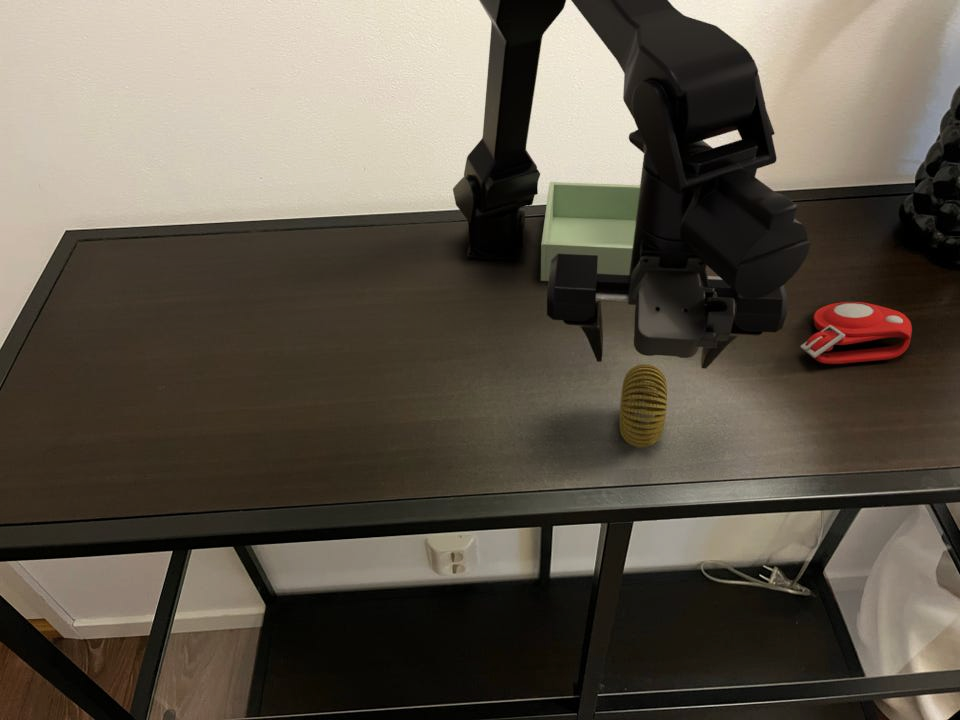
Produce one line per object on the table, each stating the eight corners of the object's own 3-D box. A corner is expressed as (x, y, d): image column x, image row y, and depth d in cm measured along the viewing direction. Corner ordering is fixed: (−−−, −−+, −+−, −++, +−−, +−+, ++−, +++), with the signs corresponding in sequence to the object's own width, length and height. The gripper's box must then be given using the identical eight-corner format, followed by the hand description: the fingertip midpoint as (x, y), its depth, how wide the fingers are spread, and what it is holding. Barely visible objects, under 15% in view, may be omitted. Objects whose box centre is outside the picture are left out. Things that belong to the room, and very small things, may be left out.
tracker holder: (816, 290, 86) (916, 296, 81) (814, 325, 88) (911, 332, 83) (798, 337, 77) (909, 346, 72) (796, 374, 79) (904, 386, 74)
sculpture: (619, 399, 77) (626, 345, 71) (659, 403, 77) (669, 348, 71) (616, 462, 72) (623, 408, 66) (658, 466, 71) (670, 412, 65)
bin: (540, 281, 91) (541, 244, 87) (548, 217, 100) (549, 181, 96) (650, 286, 89) (656, 249, 85) (648, 221, 98) (653, 185, 94)
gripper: (542, 280, 52) (540, 423, 63) (824, 295, 49) (769, 440, 61) (553, 191, 59) (549, 332, 71) (797, 199, 57) (754, 344, 68)
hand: (650, 361), depth 67 cm, fingers open, 9 cm apart
